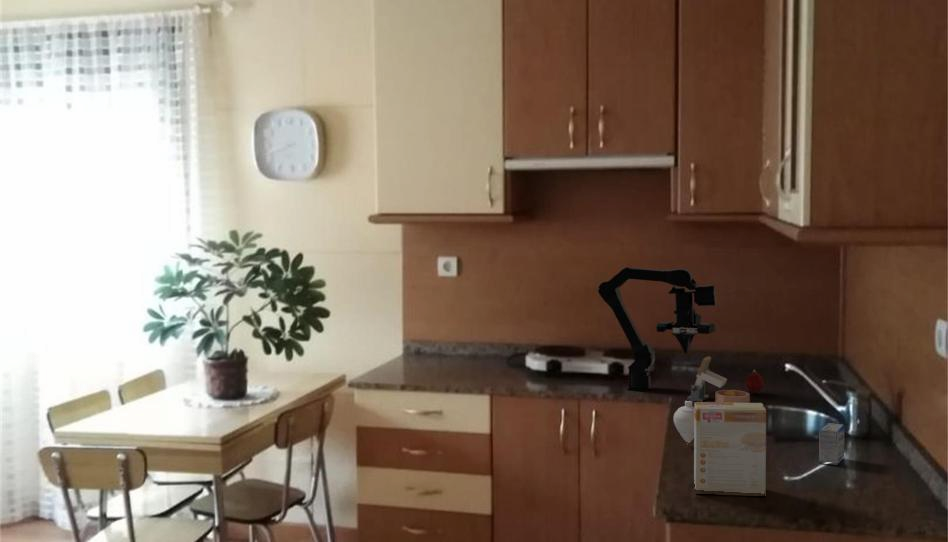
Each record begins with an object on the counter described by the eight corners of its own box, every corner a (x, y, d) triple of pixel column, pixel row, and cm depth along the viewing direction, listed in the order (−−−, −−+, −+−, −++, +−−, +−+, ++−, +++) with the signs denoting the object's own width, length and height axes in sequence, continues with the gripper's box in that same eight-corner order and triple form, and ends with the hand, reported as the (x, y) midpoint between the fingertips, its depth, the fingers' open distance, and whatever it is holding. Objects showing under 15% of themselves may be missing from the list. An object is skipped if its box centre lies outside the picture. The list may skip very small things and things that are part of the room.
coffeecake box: (761, 487, 209) (762, 402, 208) (766, 498, 202) (767, 409, 201) (693, 485, 212) (693, 400, 210) (695, 495, 205) (696, 407, 203)
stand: (686, 400, 297) (686, 385, 297) (693, 396, 304) (694, 380, 304) (702, 402, 295) (702, 386, 294) (709, 397, 302) (709, 382, 301)
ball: (734, 401, 292) (724, 402, 293) (737, 399, 295) (727, 400, 296) (732, 390, 292) (721, 391, 294) (735, 388, 295) (724, 389, 297)
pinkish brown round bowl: (711, 404, 292) (711, 394, 292) (720, 398, 301) (720, 388, 301) (744, 407, 287) (744, 398, 287) (752, 401, 296) (752, 391, 296)
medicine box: (837, 466, 225) (838, 431, 224) (818, 464, 227) (819, 429, 226) (844, 458, 231) (845, 424, 231) (825, 456, 234) (826, 422, 233)
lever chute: (691, 388, 297) (703, 358, 295) (696, 384, 302) (708, 356, 300) (715, 399, 294) (727, 369, 291) (720, 396, 299) (732, 366, 296)
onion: (764, 396, 303) (764, 371, 302) (745, 395, 304) (746, 371, 303) (762, 392, 309) (762, 368, 308) (744, 391, 310) (744, 368, 309)
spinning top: (667, 444, 246) (667, 399, 245) (691, 441, 249) (691, 396, 248) (684, 451, 239) (685, 405, 238) (709, 448, 242) (709, 402, 241)
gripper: (720, 303, 309) (722, 350, 310) (668, 302, 320) (671, 347, 322) (707, 308, 300) (709, 356, 302) (654, 307, 311) (656, 353, 313)
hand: (686, 353), depth 310 cm, fingers closed
